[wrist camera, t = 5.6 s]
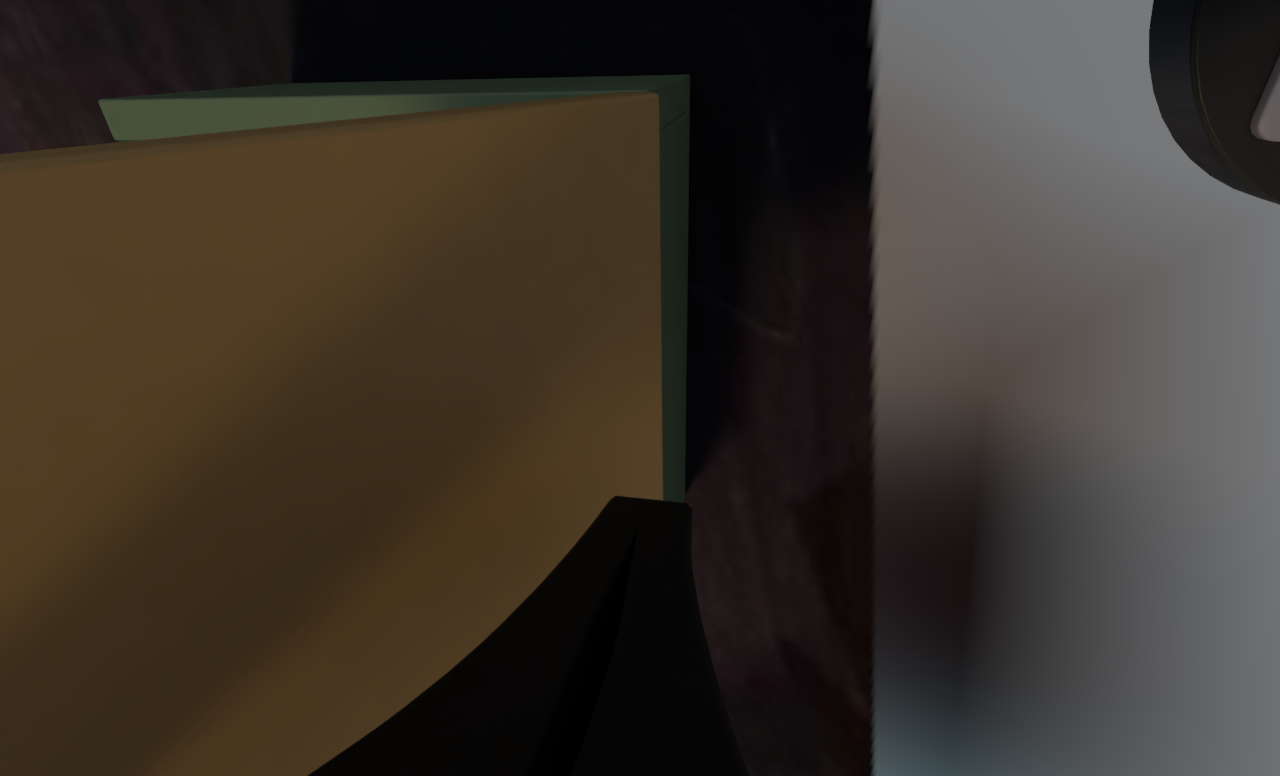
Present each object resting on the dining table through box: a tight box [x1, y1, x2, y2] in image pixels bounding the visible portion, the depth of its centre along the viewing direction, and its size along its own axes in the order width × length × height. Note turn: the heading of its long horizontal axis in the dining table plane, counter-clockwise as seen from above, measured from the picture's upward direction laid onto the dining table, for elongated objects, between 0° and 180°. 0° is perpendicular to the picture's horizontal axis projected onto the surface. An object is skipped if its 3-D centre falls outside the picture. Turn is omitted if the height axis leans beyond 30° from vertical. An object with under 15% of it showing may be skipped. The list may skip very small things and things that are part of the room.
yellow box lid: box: [0, 91, 663, 776], centre depth 9 cm, size 12×14×1 cm
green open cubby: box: [99, 75, 690, 503], centre depth 17 cm, size 12×14×6 cm
